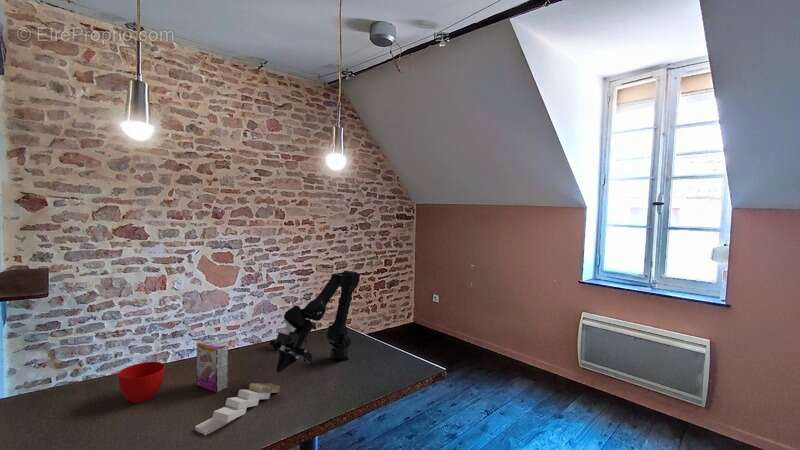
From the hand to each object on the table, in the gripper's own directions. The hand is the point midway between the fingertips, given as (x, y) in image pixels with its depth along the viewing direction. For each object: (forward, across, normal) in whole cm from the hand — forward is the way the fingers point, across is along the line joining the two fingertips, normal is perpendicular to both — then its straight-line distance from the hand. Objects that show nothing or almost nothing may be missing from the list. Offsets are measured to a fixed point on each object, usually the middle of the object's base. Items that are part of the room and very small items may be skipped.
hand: (277, 372), depth 134 cm
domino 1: (+18, +1, -9) cm, 21 cm away
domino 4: (+8, 0, 0) cm, 8 cm away
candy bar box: (+14, -21, -4) cm, 25 cm away
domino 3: (+12, 0, -4) cm, 12 cm away
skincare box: (-17, -27, +27) cm, 42 cm away
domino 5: (+5, -1, +4) cm, 6 cm away
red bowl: (+26, -35, -16) cm, 46 cm away
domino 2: (+16, +2, -8) cm, 18 cm away
